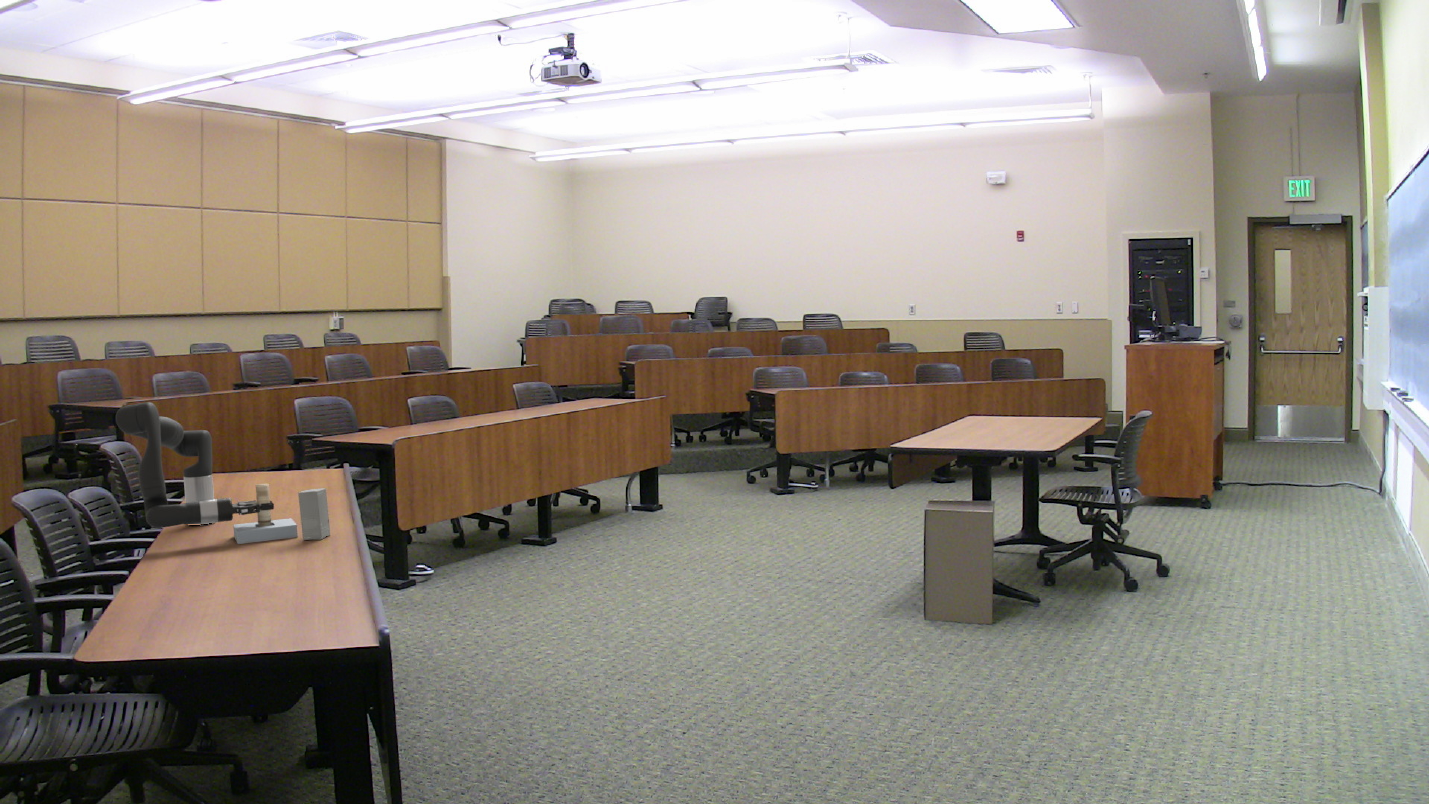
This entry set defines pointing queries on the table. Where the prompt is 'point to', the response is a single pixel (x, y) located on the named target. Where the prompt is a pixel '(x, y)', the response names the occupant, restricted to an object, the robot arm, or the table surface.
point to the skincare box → (314, 514)
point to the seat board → (265, 531)
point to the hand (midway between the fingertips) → (272, 504)
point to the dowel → (263, 497)
